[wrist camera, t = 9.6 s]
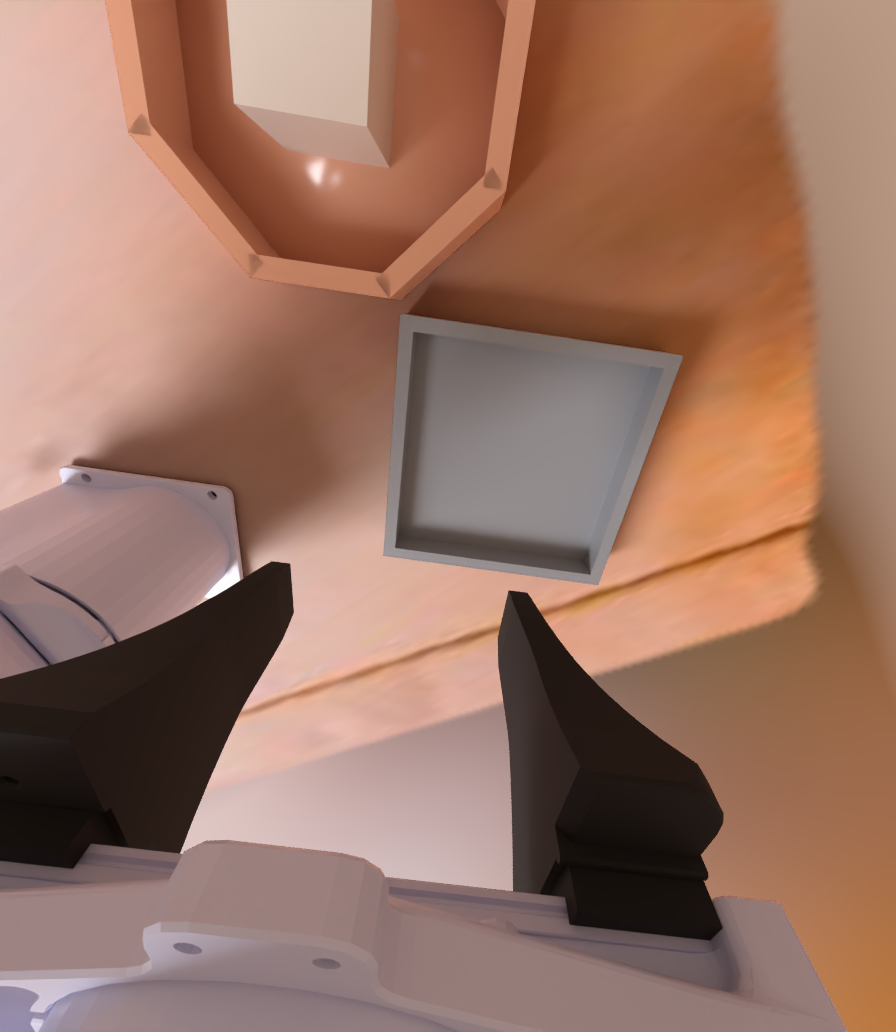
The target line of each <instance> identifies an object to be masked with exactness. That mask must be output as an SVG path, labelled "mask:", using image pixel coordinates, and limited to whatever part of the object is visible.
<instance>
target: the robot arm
mask: <svg viewBox="0 0 896 1032" xmlns="http://www.w3.org/2000/svg"><path fill="white" fill-rule="evenodd" d="M59 472H60V477H61V480H62V483H63V484H62V485H60V486H57V487H55V488H53V489H50V490H48V491H46V492H43V493H41V494H39V495H36V496H34V497H32V498H29V499H27V500H24V501H22V502H20V503H17V504H15V505H13V506H10V507H8V508H6V509H3V510H1V511H0V1032H848V1031H847V1029H846V1027H845V1025H844V1023H843V1021H842V1020H841V1018H840V1016H839V1014H838V1012H837V1010H836V1008H835V1006H834V1004H833V1002H832V1000H831V998H830V997H829V995H828V993H827V991H826V989H825V987H824V985H823V983H822V981H821V980H820V978H819V976H818V974H817V972H816V970H815V968H814V966H813V964H812V962H811V961H810V959H809V957H808V955H807V953H806V951H805V949H804V947H803V945H802V943H801V942H800V940H799V938H798V936H797V934H796V932H795V930H794V928H793V927H792V924H791V923H790V921H789V919H788V917H787V915H786V913H785V911H784V909H783V907H782V906H781V904H779V903H777V902H776V901H771V900H762V899H753V898H745V897H736V896H721V897H716V898H714V899H712V900H711V898H710V896H709V893H708V891H707V888H706V886H705V883H704V881H703V880H705V881H706V880H707V879H708V871H707V869H706V867H705V864H704V862H703V860H702V857H701V854H702V853H703V852H704V850H705V849H706V848H707V847H708V845H709V844H710V843H711V842H712V840H713V839H714V838H715V836H716V835H717V834H718V832H719V830H720V828H721V826H722V824H723V811H722V809H721V808H720V805H719V804H718V801H717V799H716V797H715V795H714V793H713V791H712V789H711V787H710V785H709V783H708V781H707V779H706V778H705V776H704V774H703V772H702V771H701V769H700V768H699V766H698V764H697V763H695V762H694V761H692V760H691V759H689V758H688V757H686V756H685V755H684V754H682V753H681V752H679V751H678V750H676V749H675V748H673V747H672V746H670V745H669V744H668V743H666V742H665V741H663V740H662V739H661V738H659V737H658V736H657V735H655V734H654V733H653V732H651V731H650V730H649V729H648V728H646V727H645V726H644V725H642V724H641V723H640V722H639V721H637V720H636V719H635V718H634V717H633V716H631V715H630V714H629V713H628V712H627V711H625V710H624V709H623V708H622V707H621V706H620V705H619V704H618V703H617V702H615V701H614V700H613V699H612V698H611V697H610V696H609V695H608V694H607V693H606V692H604V690H602V689H601V688H600V687H599V686H598V685H597V684H596V682H595V681H594V680H593V679H592V678H591V677H590V676H589V675H588V674H587V673H586V672H585V671H584V670H583V669H582V668H581V666H580V665H579V664H578V663H577V662H576V661H575V660H574V658H573V657H572V656H571V655H570V653H569V652H568V651H567V650H566V648H565V647H564V646H563V644H562V643H561V642H560V640H559V639H558V638H557V636H556V635H555V633H554V632H553V631H552V629H551V628H550V626H549V625H548V624H547V622H546V621H545V619H544V618H543V616H542V615H541V613H540V612H539V610H538V608H537V607H536V605H535V604H534V602H533V601H532V599H531V597H530V596H529V595H528V593H525V592H517V591H509V592H508V596H507V600H506V605H505V609H504V613H503V618H502V622H501V626H500V631H499V635H498V665H499V673H500V681H501V688H502V695H503V702H504V709H505V715H506V722H507V729H508V738H509V750H510V771H511V796H512V797H511V799H512V835H513V836H512V837H513V891H505V890H496V889H487V888H478V887H469V886H460V885H452V884H443V883H434V882H425V881H416V880H407V879H398V878H390V877H385V876H384V874H383V872H382V871H381V869H380V868H378V867H376V866H375V865H373V864H372V863H370V862H369V861H367V860H365V859H363V858H359V857H355V856H351V855H347V854H343V853H336V852H328V851H318V850H310V849H302V848H292V847H284V846H275V845H266V844H257V843H248V842H240V841H231V840H219V841H217V840H215V841H205V842H202V843H201V844H198V845H196V846H194V847H192V848H190V849H188V850H187V851H184V853H183V854H180V852H181V849H182V847H183V844H184V842H185V839H186V836H187V834H188V831H189V829H190V826H191V823H192V821H193V818H194V816H195V813H196V811H197V809H198V806H199V804H200V801H201V799H202V796H203V794H204V792H205V789H206V787H207V784H208V782H209V779H210V777H211V775H212V773H213V770H214V768H215V766H216V764H217V761H218V759H219V757H220V754H221V752H222V750H223V748H224V745H225V743H226V741H227V739H228V737H229V735H230V733H231V730H232V728H233V726H234V724H235V722H236V720H237V718H238V715H239V713H240V712H241V710H242V708H243V706H244V704H245V702H246V700H247V699H248V697H249V695H250V694H251V692H252V690H253V689H254V687H255V685H256V684H257V682H258V680H259V679H260V677H261V675H262V674H263V672H264V670H265V669H266V667H267V665H268V664H269V662H270V660H271V658H272V657H273V655H274V653H275V652H276V650H277V648H278V646H279V645H280V643H281V641H282V639H283V637H284V635H285V632H286V630H287V628H288V625H289V623H290V621H291V618H292V616H293V613H294V609H293V595H292V582H291V569H290V564H288V563H280V562H270V563H268V564H266V565H264V566H263V567H261V568H260V569H258V570H256V571H255V572H253V573H252V574H250V575H248V576H247V577H245V578H244V579H243V571H242V563H241V555H240V547H239V538H238V530H237V522H236V514H235V506H234V498H233V493H232V491H231V490H230V489H229V488H227V487H224V486H218V485H211V484H204V483H197V482H190V481H182V480H175V479H168V478H161V477H154V476H146V475H139V474H132V473H125V472H118V471H110V470H103V469H96V468H89V467H82V466H74V465H67V466H64V467H62V468H60V471H59ZM88 475H89V476H90V478H91V479H90V478H89V477H88ZM211 491H212V492H214V493H215V494H216V495H217V497H215V496H214V495H213V494H212V492H211ZM204 597H207V598H210V599H208V600H207V601H205V602H203V603H201V604H199V605H198V606H196V605H197V604H198V603H199V602H200V601H201V600H202V599H203V598H204ZM195 606H196V607H195Z"/></svg>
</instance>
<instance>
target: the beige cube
mask: <svg viewBox="0 0 896 1032" xmlns="http://www.w3.org/2000/svg"><path fill="white" fill-rule="evenodd" d="M226 1H227V15H228V29H229V43H230V57H231V70H232V84H233V98H234V104H235V105H236V106H237V107H238V108H239V109H241V110H242V111H243V112H244V113H245V114H246V115H247V116H249V117H250V118H251V119H252V120H253V121H254V122H255V123H256V124H258V125H259V126H260V127H261V128H262V129H263V130H264V131H265V132H267V133H268V134H269V135H270V136H271V137H272V138H273V139H275V140H276V141H277V142H278V143H279V144H280V145H281V146H282V147H284V148H285V149H286V150H287V151H291V152H297V153H303V154H309V155H314V156H320V157H326V158H332V159H338V160H344V161H350V162H355V163H361V164H367V165H373V166H379V167H385V168H390V160H391V143H392V127H393V111H394V95H395V78H396V62H397V46H398V29H399V19H398V14H397V10H396V6H395V2H394V0H226Z"/></svg>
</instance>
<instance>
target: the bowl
mask: <svg viewBox="0 0 896 1032" xmlns="http://www.w3.org/2000/svg"><path fill="white" fill-rule="evenodd" d="M394 2H395V6H396V10H397V14H398V19H399V29H398V46H397V62H396V78H395V95H394V111H393V127H392V143H391V160H390V168H385V167H379V166H373V165H367V164H361V163H355V162H350V161H344V160H338V159H332V158H326V157H320V156H314V155H309V154H303V153H297V152H291V151H287V150H286V149H285V148H284V147H282V146H281V145H280V144H279V143H278V142H277V141H276V140H275V139H273V138H272V137H271V136H270V135H269V134H268V133H267V132H265V131H264V130H263V129H262V128H261V127H260V126H259V125H258V124H256V123H255V122H254V121H253V120H252V119H251V118H250V117H249V116H247V115H246V114H245V113H244V112H243V111H242V110H241V109H239V108H238V107H237V106H236V105H235V104H234V98H233V84H232V70H231V57H230V43H229V29H228V15H227V1H226V0H105V3H106V9H107V14H108V20H109V26H110V31H111V37H112V43H113V49H114V54H115V60H116V66H117V72H118V77H119V83H120V89H121V94H122V100H123V106H124V112H125V117H126V123H127V129H128V133H129V134H130V135H131V136H132V138H133V139H134V140H135V141H136V142H137V144H138V145H139V146H140V147H141V148H142V149H143V151H144V152H145V153H146V154H147V155H148V157H149V158H150V159H151V160H152V161H153V163H154V164H155V165H156V166H157V167H158V169H159V170H160V171H161V172H162V173H163V174H164V176H165V177H166V178H167V179H168V180H169V182H170V183H171V184H172V185H173V186H174V188H175V189H176V190H177V191H178V192H179V193H180V195H181V196H182V197H183V198H184V199H185V201H186V202H187V203H188V204H189V205H190V207H191V208H192V209H193V210H194V211H195V213H196V214H197V215H198V216H199V217H200V218H201V220H202V221H203V222H204V223H205V224H206V226H207V227H208V228H209V229H210V230H211V232H212V233H213V234H214V235H215V236H216V238H217V239H218V240H219V241H220V242H221V243H222V245H223V246H224V247H225V248H226V249H227V251H228V252H229V253H230V254H231V255H232V257H233V258H234V259H235V260H236V261H237V262H238V264H239V265H240V266H241V267H242V268H243V270H244V271H245V272H246V273H247V274H248V276H249V277H250V278H254V279H261V280H267V281H274V282H280V283H288V284H295V285H301V286H308V287H315V288H322V289H328V290H335V291H342V292H349V293H355V294H362V295H369V296H375V297H382V298H389V299H395V300H402V299H403V298H404V297H405V296H406V295H407V294H408V293H410V292H411V291H412V290H413V289H414V288H415V287H416V286H417V285H418V284H419V283H421V282H422V281H423V280H424V279H425V278H426V277H427V276H428V275H429V274H430V273H432V272H433V271H434V270H435V269H436V268H437V267H438V266H439V265H440V264H441V263H442V262H444V261H445V260H446V259H447V258H448V257H449V256H450V255H451V254H452V253H453V252H455V251H456V250H457V249H458V248H459V247H460V246H461V245H462V244H463V243H464V242H466V241H467V240H468V239H469V238H470V237H471V236H472V235H473V234H474V233H475V232H476V231H478V230H479V229H480V228H481V227H482V226H483V225H484V224H485V223H486V222H487V221H489V220H490V219H491V218H492V217H493V216H494V215H495V214H496V213H497V212H498V211H499V210H500V209H501V206H502V202H503V199H504V196H505V193H506V187H507V181H508V174H509V168H510V162H511V155H512V149H513V143H514V136H515V130H516V124H517V117H518V111H519V104H520V98H521V92H522V85H523V79H524V73H525V66H526V60H527V54H528V47H529V41H530V35H531V28H532V22H533V15H534V9H535V3H536V0H394Z"/></svg>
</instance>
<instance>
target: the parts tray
mask: <svg viewBox="0 0 896 1032" xmlns="http://www.w3.org/2000/svg"><path fill="white" fill-rule="evenodd" d="M682 359H683V356H682V355H678V354H673V353H668V352H663V351H657V350H650V349H643V348H636V347H629V346H623V345H616V344H609V343H602V342H596V341H589V340H582V339H575V338H569V337H562V336H555V335H548V334H542V333H535V332H528V331H521V330H515V329H508V328H501V327H494V326H488V325H481V324H474V323H467V322H461V321H454V320H447V319H440V318H434V317H427V316H420V315H413V314H400V325H399V339H398V353H397V368H396V382H395V396H394V411H393V425H392V440H391V454H390V468H389V483H388V497H387V511H386V526H385V540H384V554H383V556H389V557H396V558H403V559H411V560H418V561H425V562H432V563H440V564H447V565H454V566H462V567H469V568H476V569H484V570H491V571H498V572H506V573H513V574H520V575H528V576H535V577H542V578H549V579H557V580H564V581H571V582H579V583H586V584H593V585H598V584H599V581H600V579H601V576H602V573H603V570H604V568H605V565H606V562H607V560H608V557H609V554H610V552H611V549H612V546H613V544H614V541H615V538H616V536H617V533H618V530H619V528H620V525H621V522H622V520H623V517H624V514H625V512H626V509H627V506H628V504H629V501H630V498H631V495H632V493H633V490H634V487H635V485H636V482H637V479H638V477H639V474H640V471H641V469H642V466H643V463H644V461H645V458H646V455H647V453H648V450H649V447H650V445H651V442H652V439H653V437H654V434H655V431H656V429H657V426H658V423H659V420H660V418H661V415H662V412H663V410H664V407H665V404H666V402H667V399H668V396H669V394H670V391H671V388H672V386H673V383H674V380H675V378H676V375H677V372H678V370H679V367H680V364H681V362H682Z"/></svg>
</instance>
